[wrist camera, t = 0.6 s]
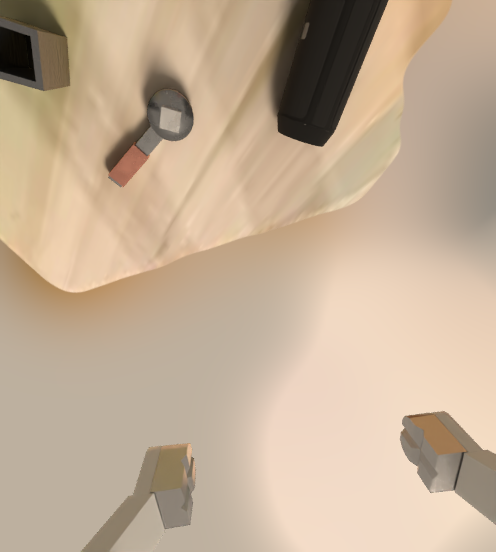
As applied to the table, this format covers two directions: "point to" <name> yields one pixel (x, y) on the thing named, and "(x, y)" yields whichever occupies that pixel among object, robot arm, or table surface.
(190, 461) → the robot arm
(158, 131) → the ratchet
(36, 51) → the square metal cup
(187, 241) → the table surface
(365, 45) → the portable speaker
